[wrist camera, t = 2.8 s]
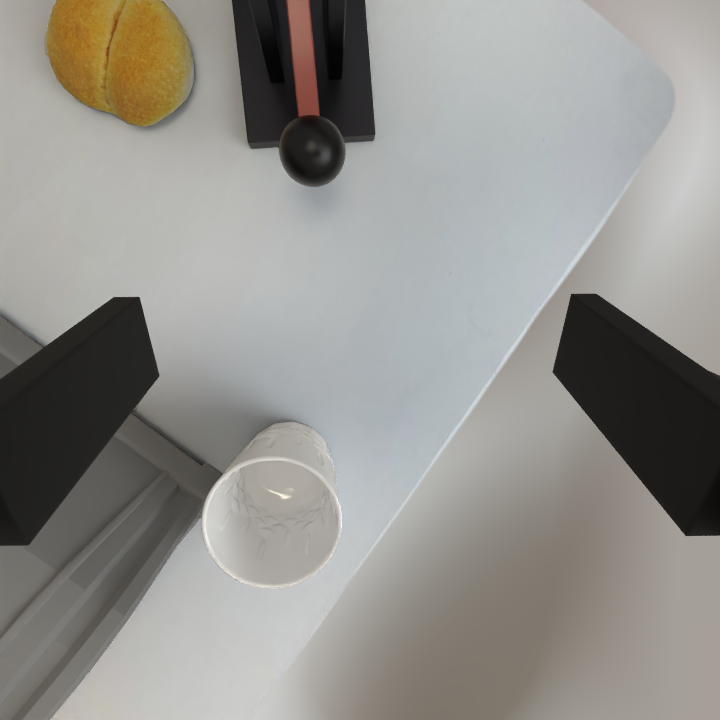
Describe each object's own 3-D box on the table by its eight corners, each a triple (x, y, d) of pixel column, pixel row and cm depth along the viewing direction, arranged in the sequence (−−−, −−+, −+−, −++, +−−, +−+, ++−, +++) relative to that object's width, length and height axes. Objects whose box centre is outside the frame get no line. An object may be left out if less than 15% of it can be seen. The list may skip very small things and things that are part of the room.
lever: (345, 181, 26) (349, 187, 23) (285, 186, 26) (281, 192, 23) (324, -122, 20) (326, -172, 17) (247, -120, 20) (234, -169, 17)
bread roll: (178, 146, 31) (156, 122, 27) (53, 95, 30) (11, 63, 26) (216, 31, 31) (198, -10, 27) (88, -25, 30) (51, -76, 26)
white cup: (223, 433, 34) (179, 484, 24) (319, 399, 34) (314, 436, 24) (259, 523, 35) (231, 608, 25) (352, 490, 35) (360, 561, 25)
